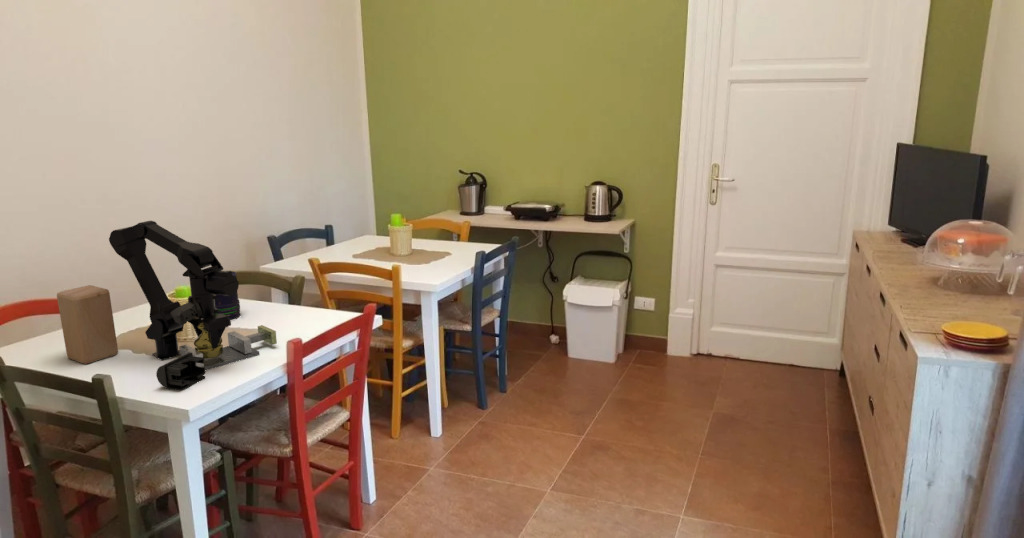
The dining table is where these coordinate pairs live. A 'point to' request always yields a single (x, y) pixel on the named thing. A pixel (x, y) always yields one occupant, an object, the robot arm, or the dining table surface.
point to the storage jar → (228, 304)
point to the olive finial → (207, 344)
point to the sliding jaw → (251, 339)
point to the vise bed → (223, 359)
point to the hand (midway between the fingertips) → (208, 345)
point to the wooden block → (87, 323)
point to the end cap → (181, 372)
